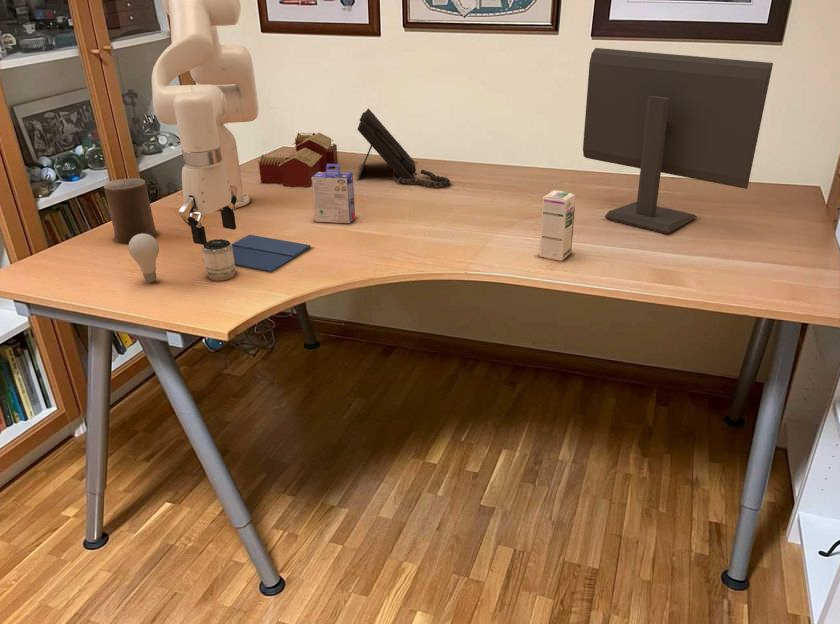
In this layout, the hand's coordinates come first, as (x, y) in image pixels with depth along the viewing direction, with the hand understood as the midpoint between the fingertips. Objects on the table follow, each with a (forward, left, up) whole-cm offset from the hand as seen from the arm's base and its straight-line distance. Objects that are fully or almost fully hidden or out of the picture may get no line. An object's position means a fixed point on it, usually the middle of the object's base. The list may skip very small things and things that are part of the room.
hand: (215, 235), depth 153 cm
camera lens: (0, 0, -9) cm, 9 cm away
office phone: (+2, +87, -9) cm, 87 cm away
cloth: (0, +14, -9) cm, 17 cm away
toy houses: (-33, +83, -9) cm, 90 cm away
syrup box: (+64, +41, -9) cm, 77 cm away
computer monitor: (+80, +75, -9) cm, 110 cm away
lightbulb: (-12, -9, -9) cm, 18 cm away
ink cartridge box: (+4, +42, -9) cm, 43 cm away
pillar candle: (-36, +11, -9) cm, 39 cm away
